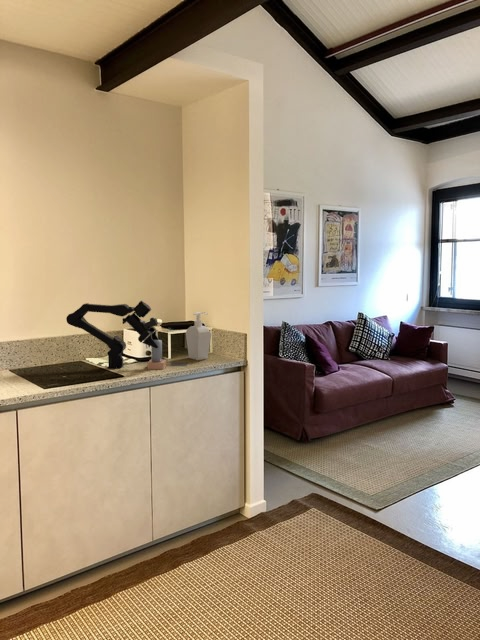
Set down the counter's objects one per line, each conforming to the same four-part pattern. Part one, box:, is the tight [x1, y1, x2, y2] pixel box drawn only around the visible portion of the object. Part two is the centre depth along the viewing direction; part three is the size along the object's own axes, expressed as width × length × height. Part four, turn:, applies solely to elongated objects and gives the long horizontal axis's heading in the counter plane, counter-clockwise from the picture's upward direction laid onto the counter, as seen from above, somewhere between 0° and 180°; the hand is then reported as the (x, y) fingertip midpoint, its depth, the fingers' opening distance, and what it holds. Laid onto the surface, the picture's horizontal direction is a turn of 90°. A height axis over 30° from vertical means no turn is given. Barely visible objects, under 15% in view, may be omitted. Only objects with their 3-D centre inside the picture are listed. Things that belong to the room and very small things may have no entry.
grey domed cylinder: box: [150, 339, 163, 362], centre depth 263 cm, size 5×5×10 cm
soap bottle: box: [185, 311, 212, 361], centre depth 288 cm, size 12×10×26 cm
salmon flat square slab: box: [147, 359, 167, 370], centre depth 264 cm, size 8×8×4 cm
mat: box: [168, 362, 189, 367], centre depth 272 cm, size 9×9×1 cm
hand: (159, 346), depth 263 cm, fingers open, 9 cm apart
